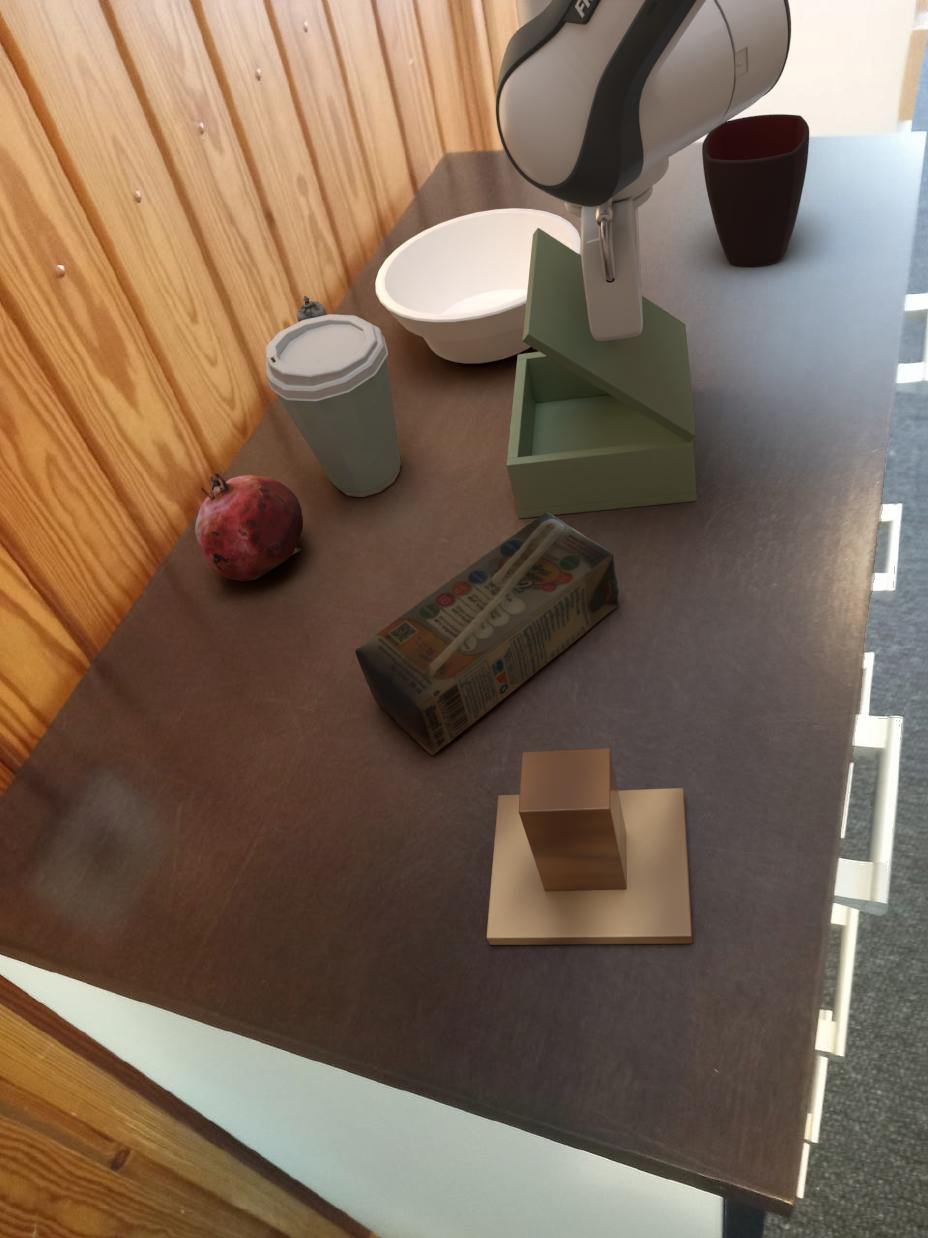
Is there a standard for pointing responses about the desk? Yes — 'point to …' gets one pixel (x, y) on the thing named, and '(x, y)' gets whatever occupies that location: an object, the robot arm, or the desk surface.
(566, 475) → the green box base
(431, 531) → the desk surface
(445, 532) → the desk surface
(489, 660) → the beverage carton
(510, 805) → the board
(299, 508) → the fruit
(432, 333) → the bowl
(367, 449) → the disposable coffee cup
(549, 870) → the brown wooden block
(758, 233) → the dark brown plant pot
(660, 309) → the lid
